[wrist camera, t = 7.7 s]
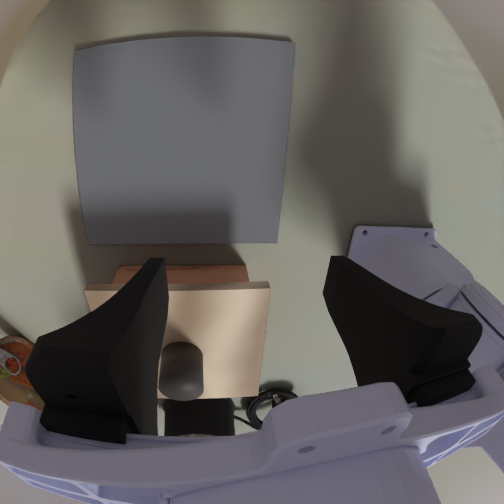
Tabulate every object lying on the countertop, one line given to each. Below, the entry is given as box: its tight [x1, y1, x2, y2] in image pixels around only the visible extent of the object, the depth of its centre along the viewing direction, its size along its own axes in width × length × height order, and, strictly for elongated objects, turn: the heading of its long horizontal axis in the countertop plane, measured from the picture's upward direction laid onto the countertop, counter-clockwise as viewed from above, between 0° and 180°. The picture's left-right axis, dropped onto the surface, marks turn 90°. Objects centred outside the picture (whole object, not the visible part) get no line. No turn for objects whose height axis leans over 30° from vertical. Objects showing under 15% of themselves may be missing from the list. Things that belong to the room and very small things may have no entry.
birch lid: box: [84, 281, 270, 401], centre depth 21 cm, size 12×12×4 cm
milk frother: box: [163, 389, 298, 437], centre depth 28 cm, size 14×16×15 cm
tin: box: [0, 336, 45, 412], centre depth 25 cm, size 15×3×8 cm, turn 36°
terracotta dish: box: [112, 265, 249, 284], centre depth 25 cm, size 10×10×4 cm
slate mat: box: [73, 36, 295, 245], centre depth 19 cm, size 15×15×1 cm
